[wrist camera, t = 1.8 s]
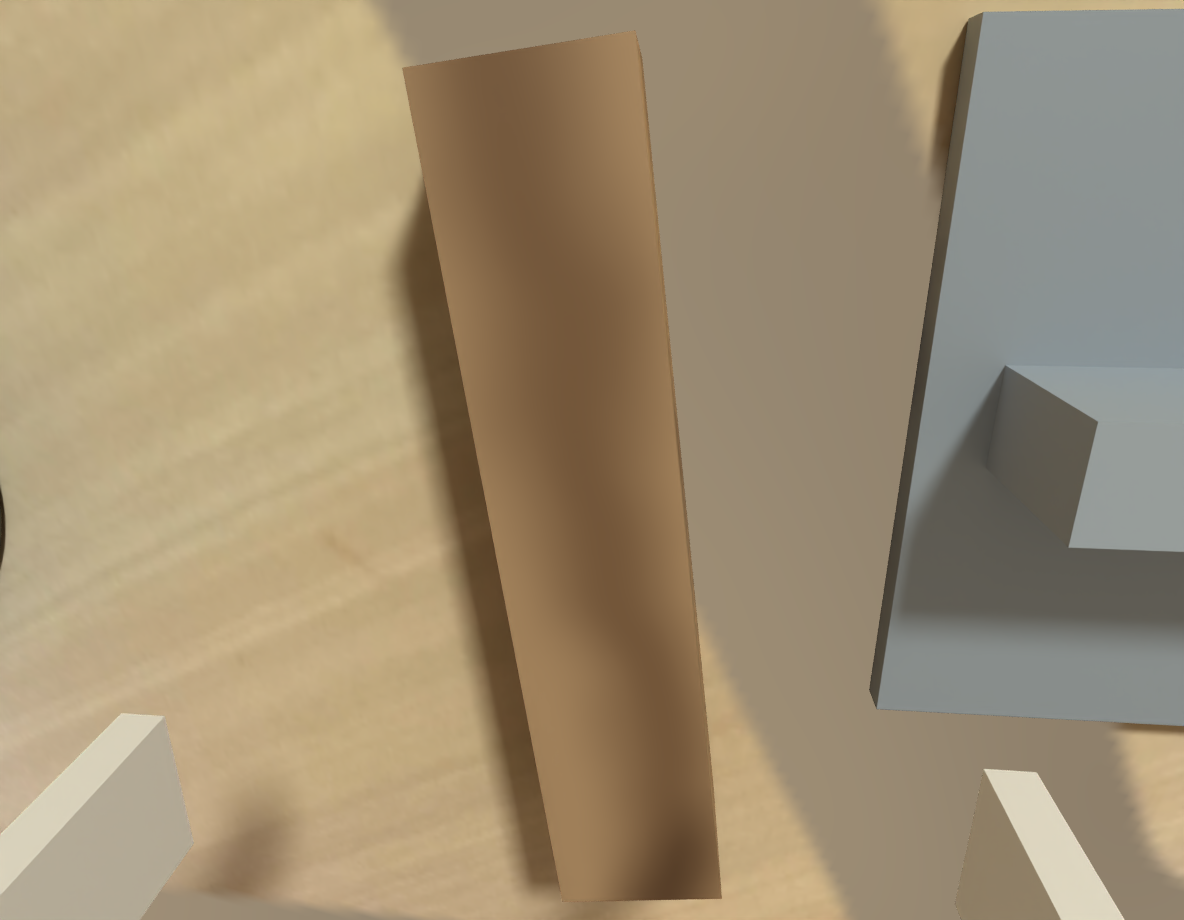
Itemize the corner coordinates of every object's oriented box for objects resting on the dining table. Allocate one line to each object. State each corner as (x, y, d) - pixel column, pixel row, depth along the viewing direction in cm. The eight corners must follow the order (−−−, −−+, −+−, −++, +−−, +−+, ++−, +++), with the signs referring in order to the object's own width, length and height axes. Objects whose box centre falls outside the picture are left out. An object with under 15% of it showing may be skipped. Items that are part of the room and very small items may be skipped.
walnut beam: (578, 785, 30) (562, 901, 25) (459, 87, 22) (402, 68, 17) (713, 780, 29) (721, 898, 24) (642, 58, 21) (635, 30, 16)
